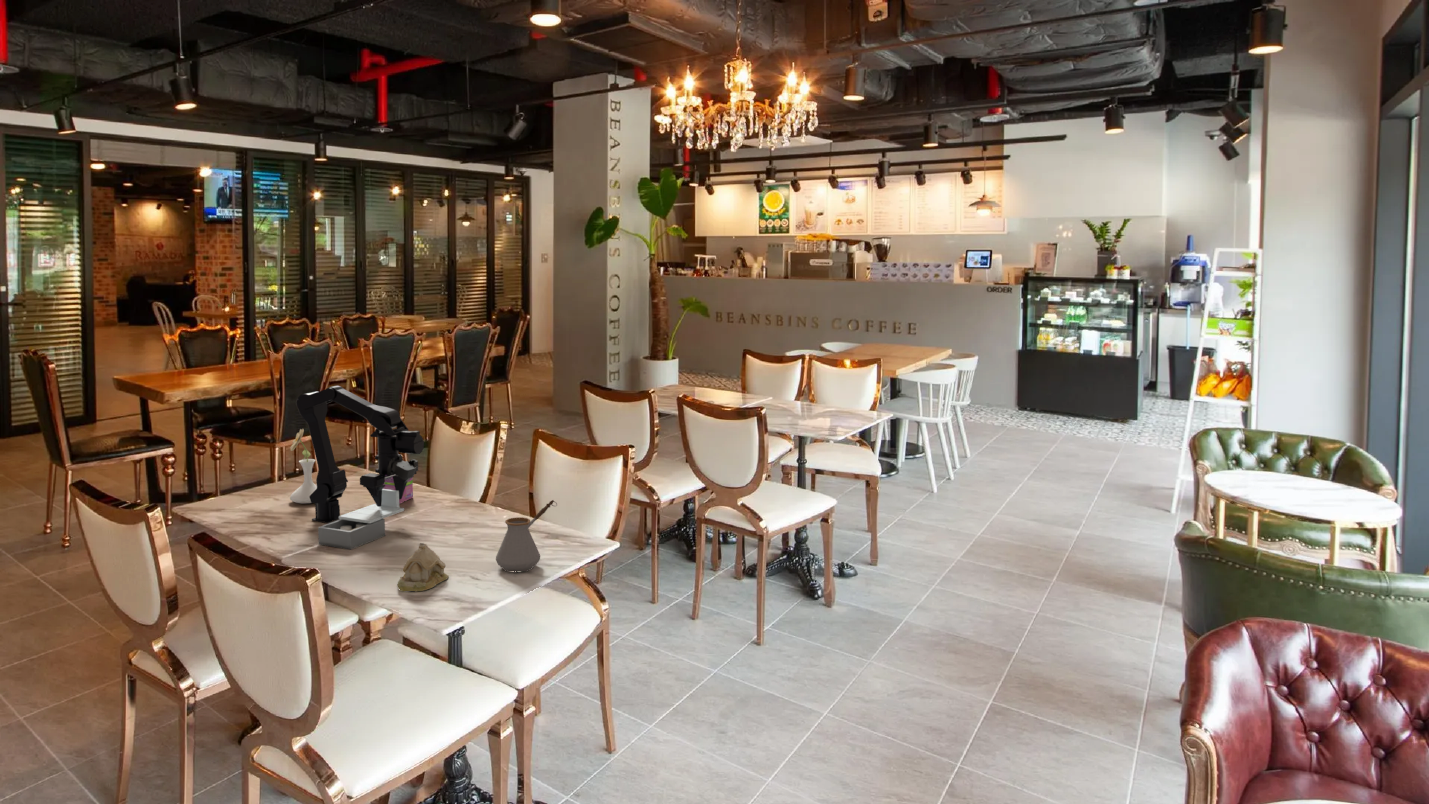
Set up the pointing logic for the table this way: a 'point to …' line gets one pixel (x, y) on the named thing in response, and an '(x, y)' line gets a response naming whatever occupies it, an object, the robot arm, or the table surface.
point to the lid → (376, 509)
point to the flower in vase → (308, 486)
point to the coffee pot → (519, 544)
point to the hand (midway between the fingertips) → (389, 502)
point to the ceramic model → (422, 570)
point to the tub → (350, 533)
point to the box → (407, 492)
